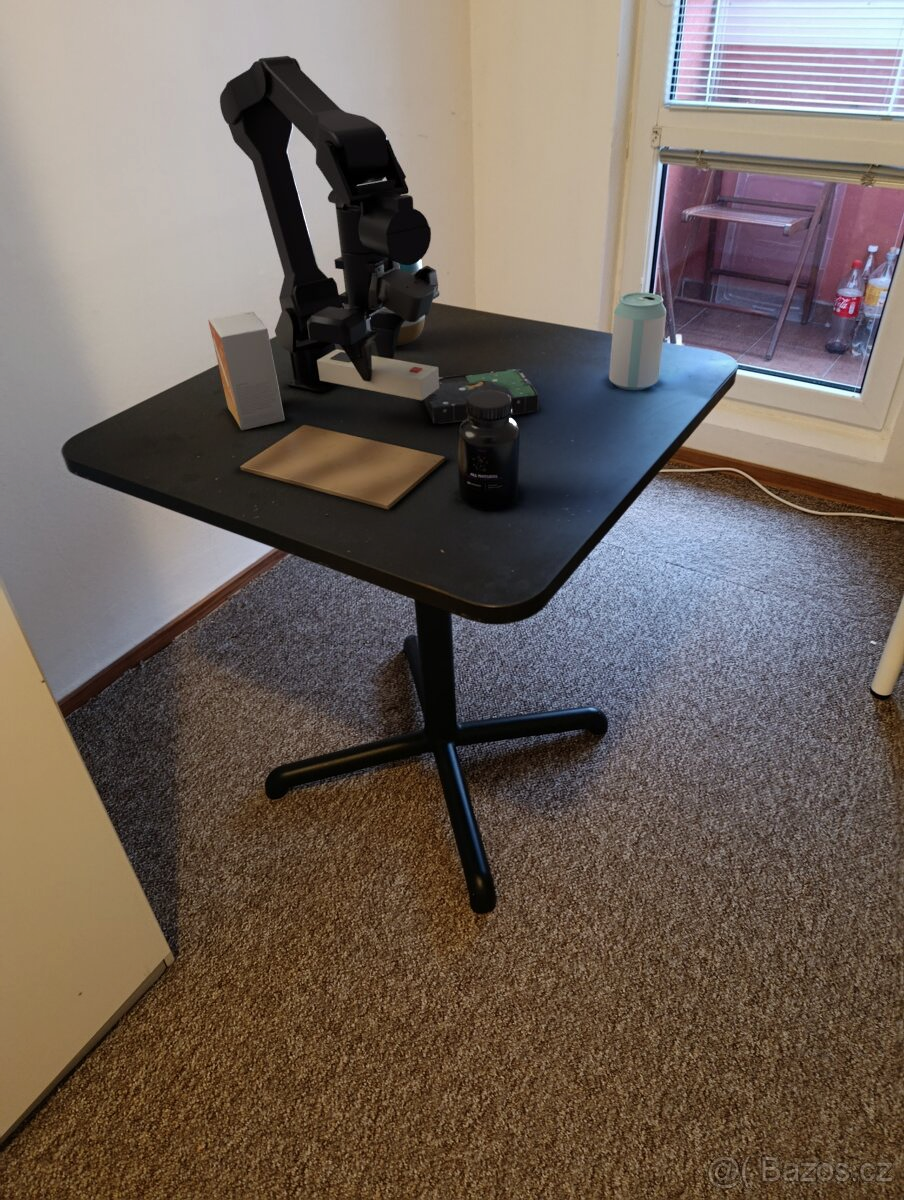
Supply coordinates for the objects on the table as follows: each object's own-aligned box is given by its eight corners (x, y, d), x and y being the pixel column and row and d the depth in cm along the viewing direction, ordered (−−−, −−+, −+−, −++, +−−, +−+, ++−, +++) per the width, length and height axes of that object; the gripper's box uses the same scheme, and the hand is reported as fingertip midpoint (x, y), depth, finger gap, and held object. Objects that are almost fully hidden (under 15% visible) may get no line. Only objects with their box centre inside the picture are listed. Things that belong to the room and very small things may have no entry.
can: (611, 371, 121) (618, 289, 113) (659, 374, 119) (669, 291, 112) (605, 390, 115) (612, 305, 108) (656, 393, 114) (666, 307, 106)
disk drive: (434, 428, 108) (540, 412, 110) (432, 408, 107) (540, 393, 109) (420, 397, 116) (519, 383, 118) (418, 379, 115) (519, 365, 117)
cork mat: (240, 470, 101) (239, 466, 100) (304, 428, 109) (304, 424, 109) (388, 509, 92) (388, 505, 91) (445, 460, 100) (444, 456, 100)
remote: (319, 380, 108) (316, 358, 106) (338, 369, 111) (336, 347, 109) (421, 400, 101) (420, 377, 99) (439, 387, 104) (438, 365, 102)
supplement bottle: (474, 517, 89) (471, 417, 82) (450, 490, 94) (445, 393, 87) (529, 503, 91) (531, 404, 84) (502, 477, 97) (502, 381, 89)
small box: (227, 409, 115) (206, 318, 107) (270, 400, 117) (253, 310, 109) (240, 431, 110) (219, 336, 102) (285, 421, 111) (268, 327, 104)
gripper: (377, 276, 86) (390, 413, 95) (461, 234, 99) (465, 359, 108) (295, 266, 90) (315, 397, 100) (385, 227, 103) (395, 347, 113)
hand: (377, 374), depth 105 cm, fingers closed on remote, 4 cm apart
